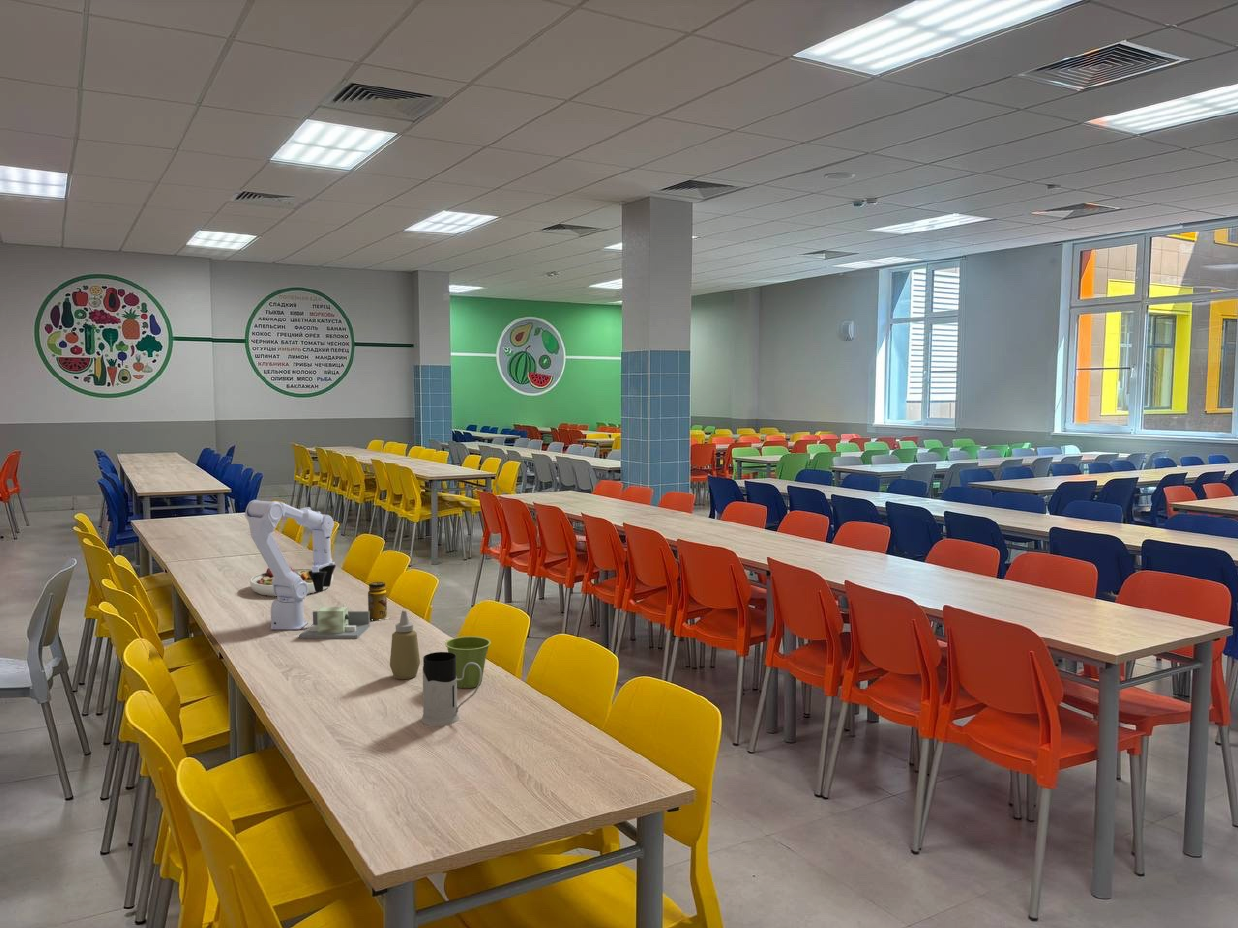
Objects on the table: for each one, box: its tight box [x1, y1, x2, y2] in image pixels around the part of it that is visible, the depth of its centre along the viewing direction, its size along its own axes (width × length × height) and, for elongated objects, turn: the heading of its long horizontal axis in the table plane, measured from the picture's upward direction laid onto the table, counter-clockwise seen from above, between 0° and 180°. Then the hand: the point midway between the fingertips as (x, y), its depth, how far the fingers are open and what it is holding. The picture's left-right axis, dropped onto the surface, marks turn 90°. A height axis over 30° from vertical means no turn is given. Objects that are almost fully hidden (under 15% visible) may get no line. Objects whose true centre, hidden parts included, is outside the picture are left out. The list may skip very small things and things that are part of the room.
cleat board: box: [298, 610, 371, 640], centre depth 274 cm, size 18×14×5 cm
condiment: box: [367, 581, 391, 622], centre depth 290 cm, size 7×8×12 cm
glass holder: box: [420, 651, 482, 727], centre depth 202 cm, size 9×14×15 cm, turn 88°
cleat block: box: [316, 606, 349, 633], centre depth 271 cm, size 9×5×7 cm, turn 91°
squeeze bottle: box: [389, 610, 421, 680], centre depth 232 cm, size 8×8×18 cm
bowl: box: [249, 565, 334, 597], centre depth 332 cm, size 30×30×8 cm
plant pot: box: [444, 635, 492, 689], centre depth 226 cm, size 12×12×11 cm
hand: (322, 589), depth 292 cm, fingers open, 7 cm apart
